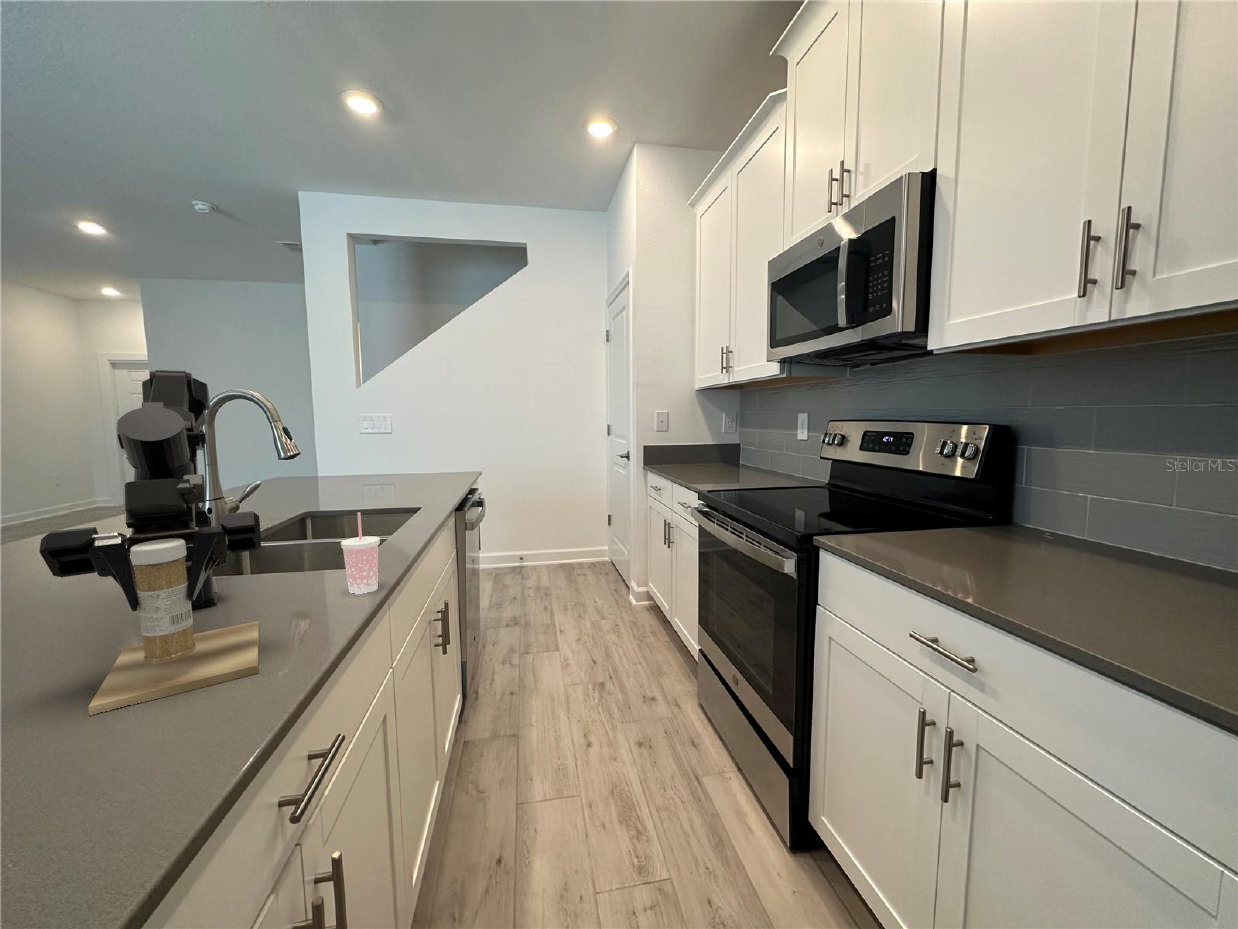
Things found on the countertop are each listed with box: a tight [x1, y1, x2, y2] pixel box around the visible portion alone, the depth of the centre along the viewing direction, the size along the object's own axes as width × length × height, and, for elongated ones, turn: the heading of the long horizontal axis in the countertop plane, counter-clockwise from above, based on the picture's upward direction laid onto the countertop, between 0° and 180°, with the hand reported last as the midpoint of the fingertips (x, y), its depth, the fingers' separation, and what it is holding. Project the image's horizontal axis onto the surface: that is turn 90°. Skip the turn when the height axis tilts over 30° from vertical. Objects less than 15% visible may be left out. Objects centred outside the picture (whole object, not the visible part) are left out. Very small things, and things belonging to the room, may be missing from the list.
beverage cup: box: [340, 511, 381, 595], centre depth 86 cm, size 6×6×14 cm
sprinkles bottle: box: [130, 539, 196, 664], centre depth 56 cm, size 5×5×13 cm
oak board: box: [88, 620, 260, 716], centre depth 61 cm, size 16×14×1 cm
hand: (163, 604), depth 55 cm, fingers closed on sprinkles bottle, 4 cm apart
